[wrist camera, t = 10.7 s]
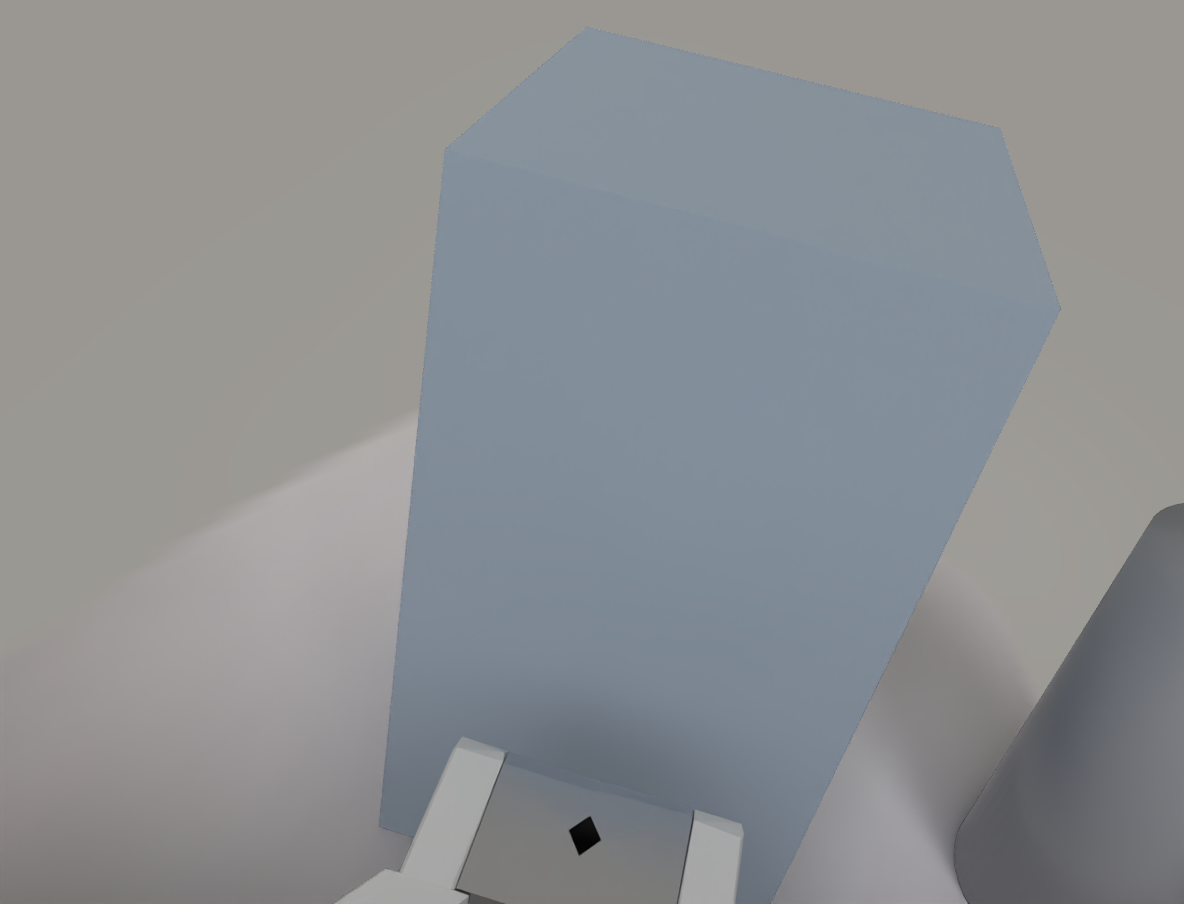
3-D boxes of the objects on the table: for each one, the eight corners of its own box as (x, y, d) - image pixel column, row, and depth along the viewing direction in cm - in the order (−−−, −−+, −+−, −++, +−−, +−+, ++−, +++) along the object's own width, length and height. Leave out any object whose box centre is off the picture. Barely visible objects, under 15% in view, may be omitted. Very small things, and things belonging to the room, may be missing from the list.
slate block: (781, 669, 21) (999, 128, 15) (749, 946, 16) (1060, 309, 10) (494, 584, 21) (587, 26, 15) (378, 826, 16) (444, 149, 10)
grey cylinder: (1144, 830, 19) (1374, 540, 15) (1193, 1029, 16) (1497, 733, 12) (948, 771, 19) (1123, 472, 15) (960, 956, 16) (1181, 642, 12)
